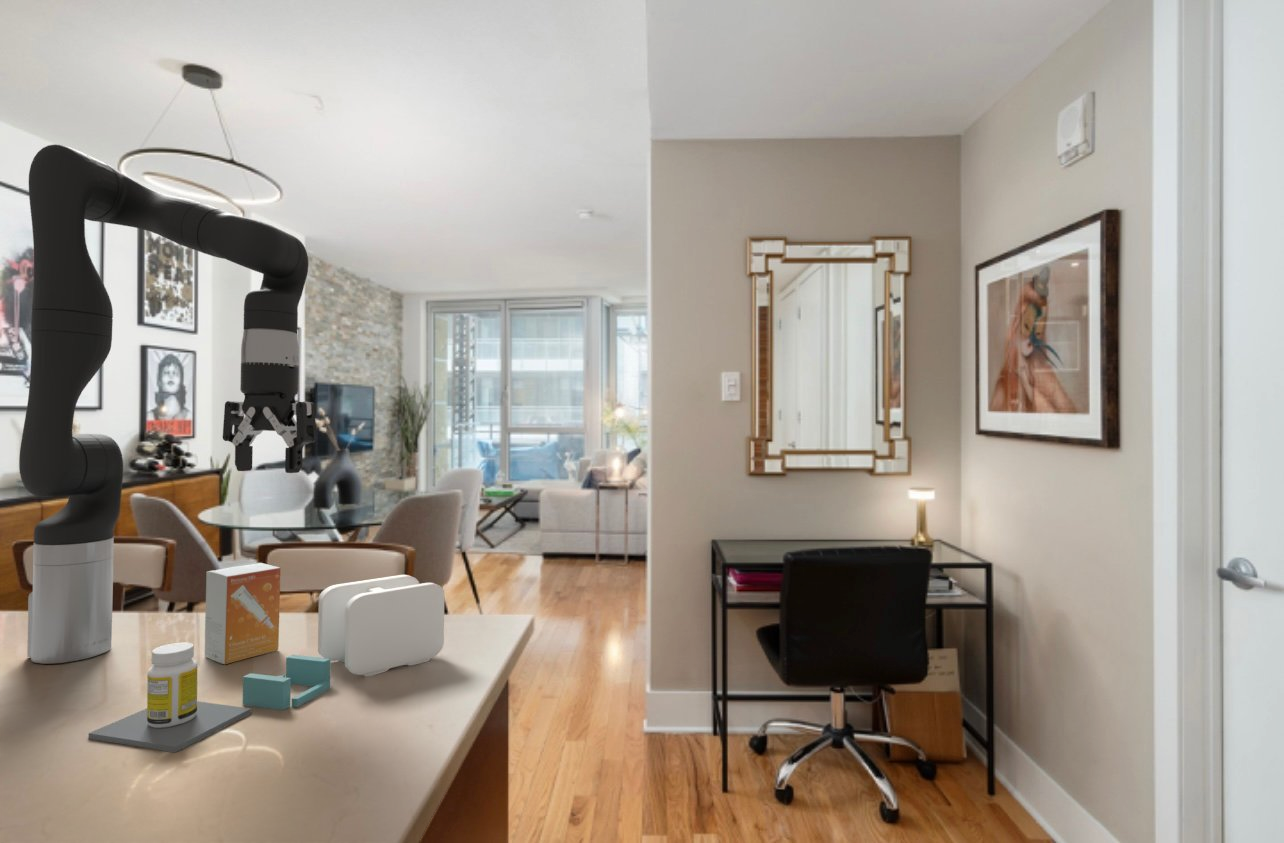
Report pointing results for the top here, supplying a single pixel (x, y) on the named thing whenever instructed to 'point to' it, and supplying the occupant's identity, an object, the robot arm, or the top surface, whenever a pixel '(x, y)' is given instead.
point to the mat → (170, 728)
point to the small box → (242, 612)
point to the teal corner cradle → (288, 683)
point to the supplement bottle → (172, 685)
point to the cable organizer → (381, 623)
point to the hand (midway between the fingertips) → (268, 471)
